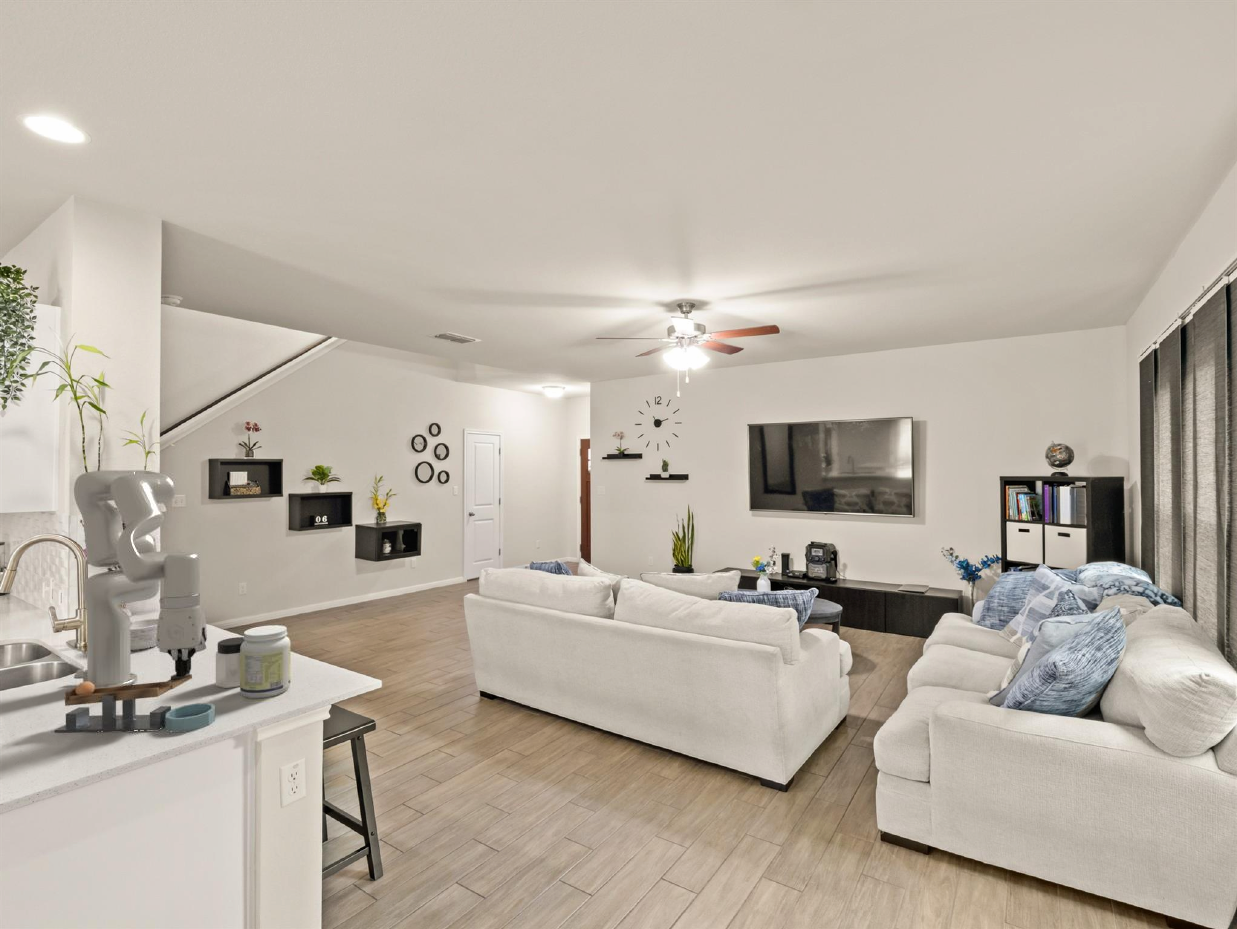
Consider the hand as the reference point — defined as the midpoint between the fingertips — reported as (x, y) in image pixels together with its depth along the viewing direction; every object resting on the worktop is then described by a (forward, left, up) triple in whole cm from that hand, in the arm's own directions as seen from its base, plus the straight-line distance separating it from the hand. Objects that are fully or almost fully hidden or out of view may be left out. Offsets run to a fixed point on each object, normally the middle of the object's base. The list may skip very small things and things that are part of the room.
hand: (183, 674), depth 163 cm
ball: (-18, -8, -1) cm, 19 cm away
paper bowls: (-48, +57, -9) cm, 75 cm away
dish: (+7, -8, -9) cm, 14 cm away
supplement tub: (+14, +13, -9) cm, 21 cm away
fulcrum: (-10, -8, -9) cm, 16 cm away
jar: (+2, +20, -9) cm, 22 cm away
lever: (-9, -4, -2) cm, 11 cm away
